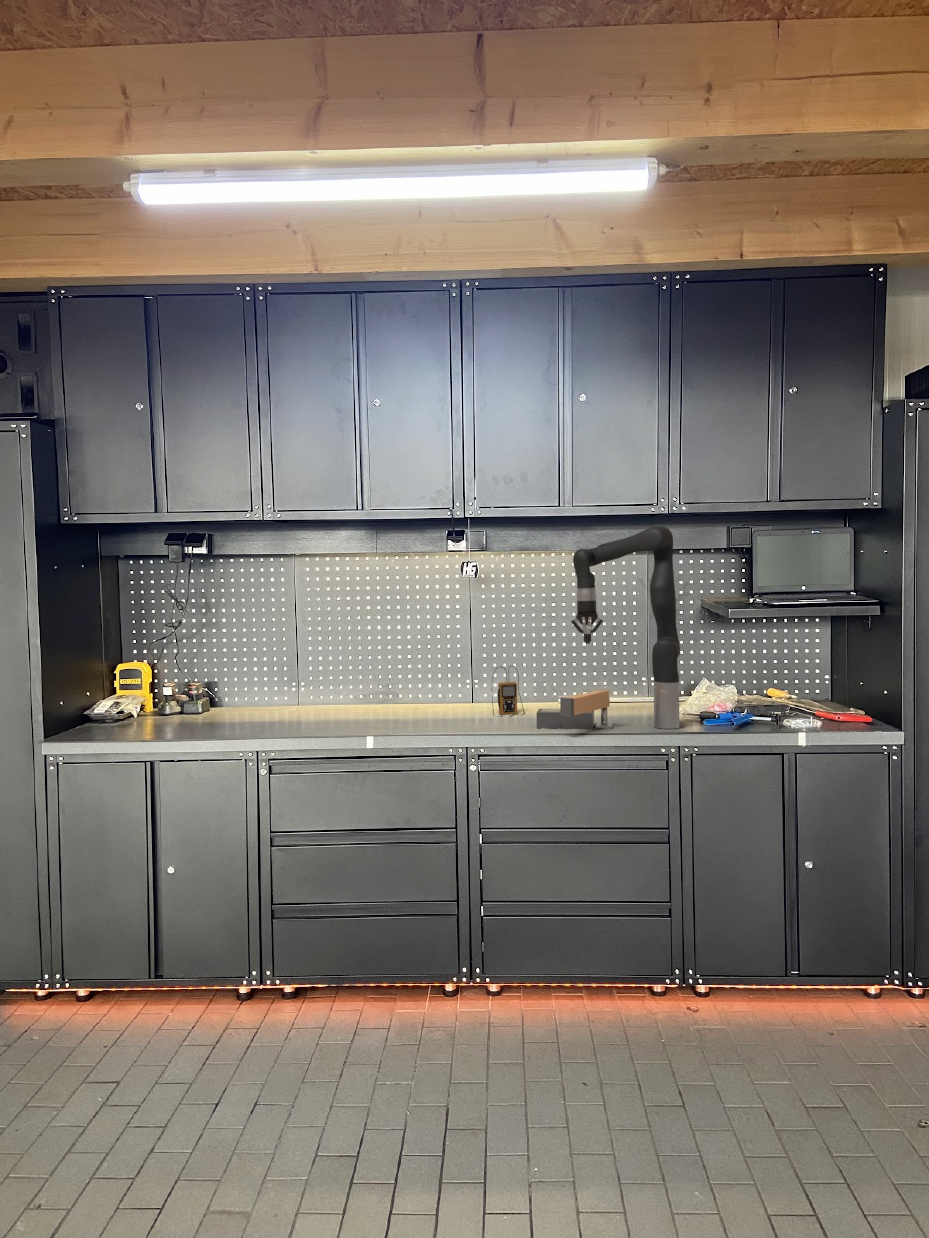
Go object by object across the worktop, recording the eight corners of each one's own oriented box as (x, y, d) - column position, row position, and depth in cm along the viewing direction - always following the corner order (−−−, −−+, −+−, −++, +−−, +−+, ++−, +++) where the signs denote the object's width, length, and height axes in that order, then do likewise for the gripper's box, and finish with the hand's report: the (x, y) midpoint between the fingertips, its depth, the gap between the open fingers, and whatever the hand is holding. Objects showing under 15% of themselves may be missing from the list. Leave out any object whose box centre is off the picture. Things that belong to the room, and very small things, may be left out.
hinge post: (612, 726, 348) (612, 705, 348) (612, 728, 343) (612, 708, 342) (596, 725, 350) (596, 705, 349) (595, 728, 344) (595, 707, 343)
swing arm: (601, 705, 349) (601, 688, 348) (611, 706, 346) (611, 689, 345) (560, 715, 326) (560, 697, 326) (570, 716, 323) (570, 698, 323)
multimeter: (497, 718, 371) (496, 668, 370) (490, 714, 381) (489, 666, 380) (531, 716, 375) (531, 667, 374) (523, 712, 385) (523, 665, 384)
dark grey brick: (594, 724, 352) (594, 708, 351) (592, 729, 342) (592, 712, 342) (539, 723, 356) (539, 708, 355) (536, 728, 346) (536, 712, 346)
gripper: (568, 600, 360) (570, 644, 360) (602, 599, 357) (604, 643, 358) (570, 599, 367) (571, 643, 368) (603, 598, 364) (605, 642, 365)
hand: (587, 643), depth 363 cm, fingers closed
